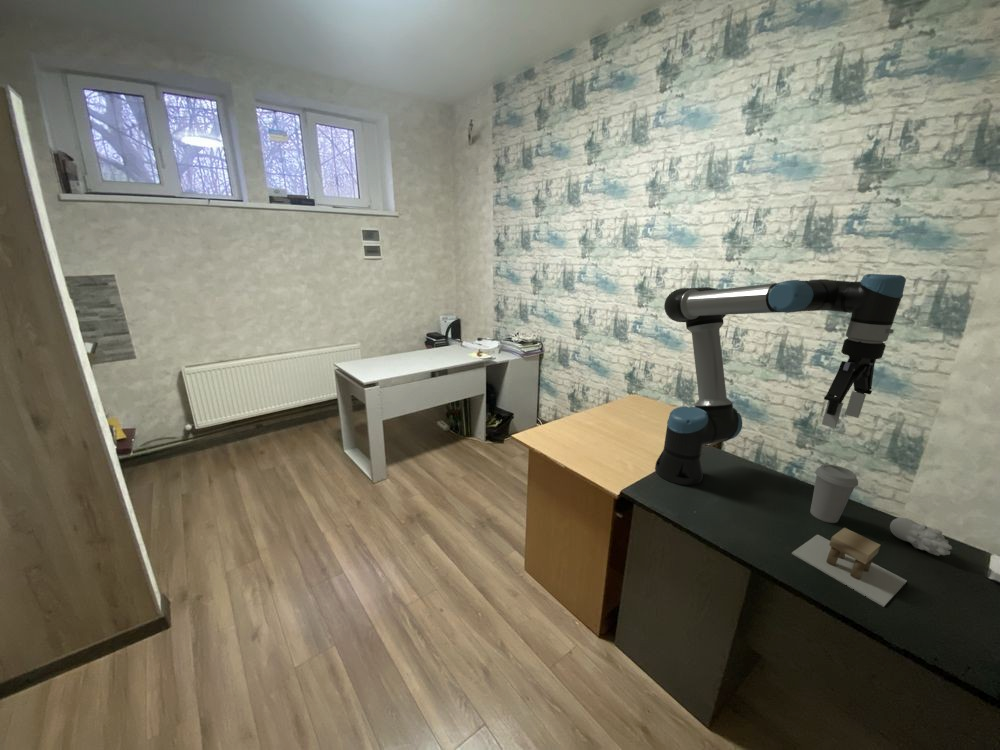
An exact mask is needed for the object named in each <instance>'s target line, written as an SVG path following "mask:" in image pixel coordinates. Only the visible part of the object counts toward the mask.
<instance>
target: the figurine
mask: <svg viewBox="0 0 1000 750" xmlns="http://www.w3.org/2000/svg"><path fill="white" fill-rule="evenodd" d="M889 524H890V525H889V529H890V532H891V534H893V536H894V537H896V538H897V539H899V540H901V541H903V542H906V543H907V542H908V543H910V544H911V546H913V548H915V549H919V550H921V551H926V552H927V553H929V554H930V555H931V554H932V555H935V556H940V555H942V556H947V555H948V556H949V555H950V554H951V551H950V550H952V549H953V547H952V545H951V544H949V540H947V539H945V535H944V534H943V531H942V530H940V529H938V528H932V527H930V526H927V525H924V524H919V523H917V522H916V521H914V520H912V519H909V518H907V517H896V518H894V519H893V520H891V522H890V523H889Z"/></svg>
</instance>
